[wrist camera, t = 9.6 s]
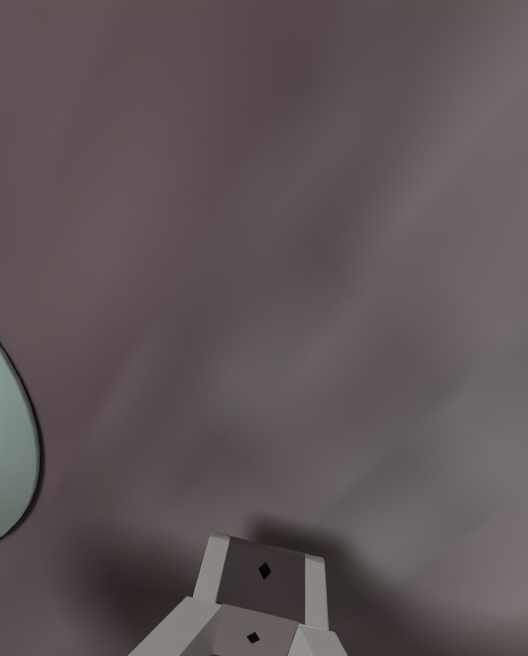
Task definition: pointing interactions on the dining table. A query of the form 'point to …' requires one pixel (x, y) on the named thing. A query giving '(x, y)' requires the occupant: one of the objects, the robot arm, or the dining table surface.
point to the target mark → (16, 447)
